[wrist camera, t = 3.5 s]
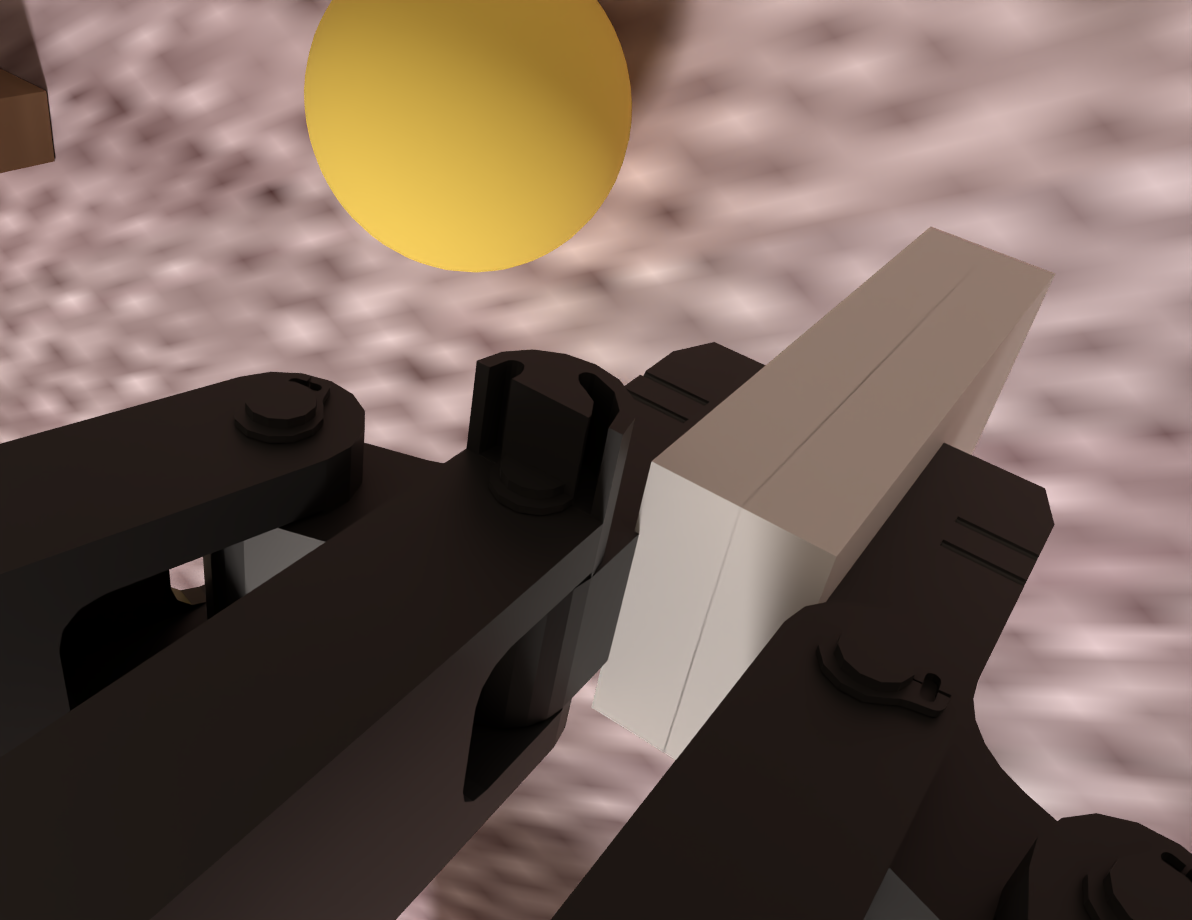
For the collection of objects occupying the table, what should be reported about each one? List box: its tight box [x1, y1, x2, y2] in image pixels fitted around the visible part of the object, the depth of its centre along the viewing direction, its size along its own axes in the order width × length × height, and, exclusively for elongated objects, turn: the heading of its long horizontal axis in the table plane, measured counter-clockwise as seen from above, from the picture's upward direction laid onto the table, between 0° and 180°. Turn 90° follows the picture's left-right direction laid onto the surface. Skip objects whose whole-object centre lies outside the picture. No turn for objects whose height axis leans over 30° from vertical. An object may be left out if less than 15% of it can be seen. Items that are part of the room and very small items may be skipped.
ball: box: [304, 0, 632, 272], centre depth 18 cm, size 6×6×6 cm
